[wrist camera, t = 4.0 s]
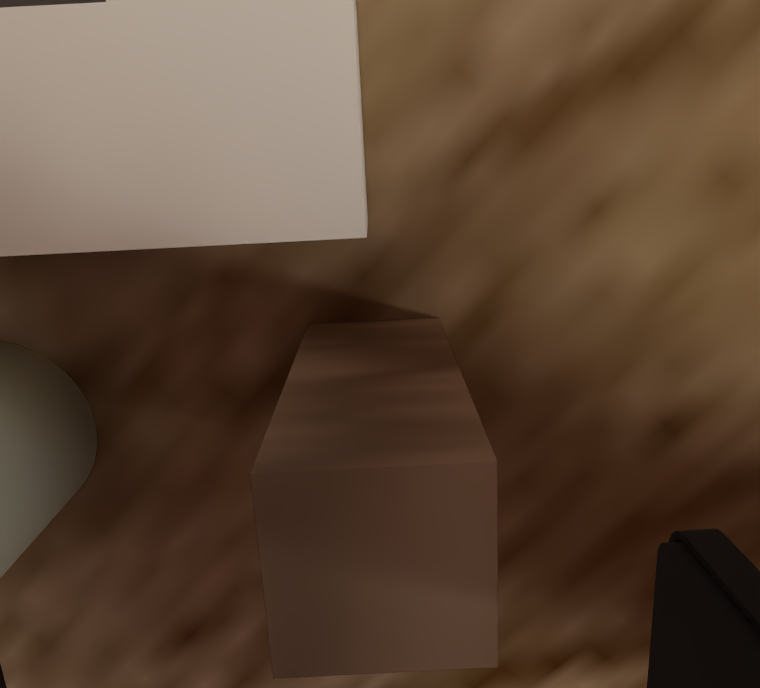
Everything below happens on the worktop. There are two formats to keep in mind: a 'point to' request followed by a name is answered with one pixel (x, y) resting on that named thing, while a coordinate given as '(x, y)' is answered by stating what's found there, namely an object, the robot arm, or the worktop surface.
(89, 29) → the cream socket block
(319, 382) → the walnut square peg
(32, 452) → the sage round peg
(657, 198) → the worktop surface
